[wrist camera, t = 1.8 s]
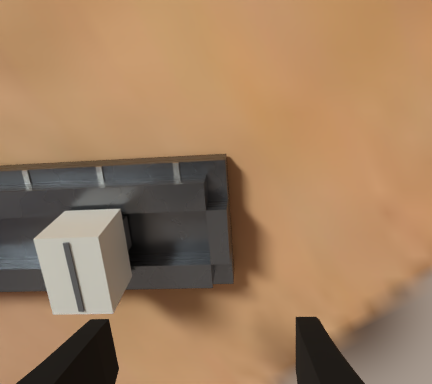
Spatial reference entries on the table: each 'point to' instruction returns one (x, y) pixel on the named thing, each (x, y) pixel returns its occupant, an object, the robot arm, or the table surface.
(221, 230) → the console
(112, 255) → the fader knob
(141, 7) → the table surface
